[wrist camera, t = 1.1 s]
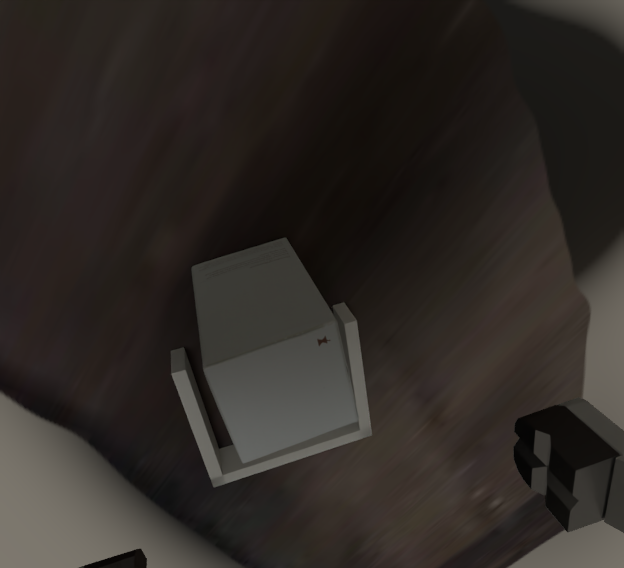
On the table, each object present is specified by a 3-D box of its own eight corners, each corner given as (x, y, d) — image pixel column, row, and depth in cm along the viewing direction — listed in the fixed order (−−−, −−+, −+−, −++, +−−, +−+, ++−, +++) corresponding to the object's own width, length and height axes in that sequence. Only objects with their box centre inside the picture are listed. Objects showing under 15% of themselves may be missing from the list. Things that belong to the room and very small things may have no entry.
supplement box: (188, 264, 34) (198, 365, 23) (287, 234, 35) (342, 318, 24) (218, 346, 38) (239, 468, 27) (308, 317, 39) (363, 423, 28)
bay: (170, 350, 37) (171, 373, 34) (344, 302, 39) (356, 320, 37) (210, 460, 43) (213, 487, 40) (360, 412, 45) (372, 435, 42)
